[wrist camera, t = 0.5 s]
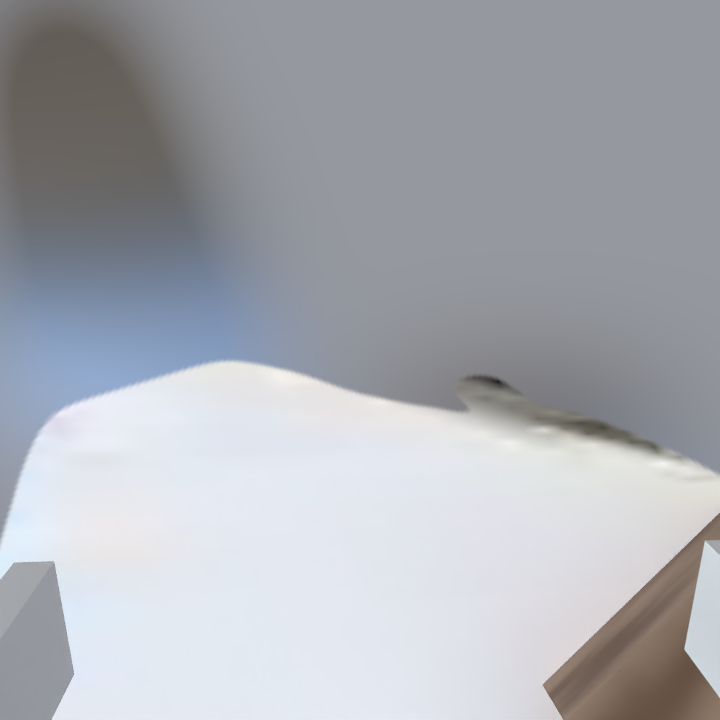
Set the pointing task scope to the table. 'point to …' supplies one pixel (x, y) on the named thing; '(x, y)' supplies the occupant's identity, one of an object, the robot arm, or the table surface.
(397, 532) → the table surface
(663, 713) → the walnut riser
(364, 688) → the table surface
